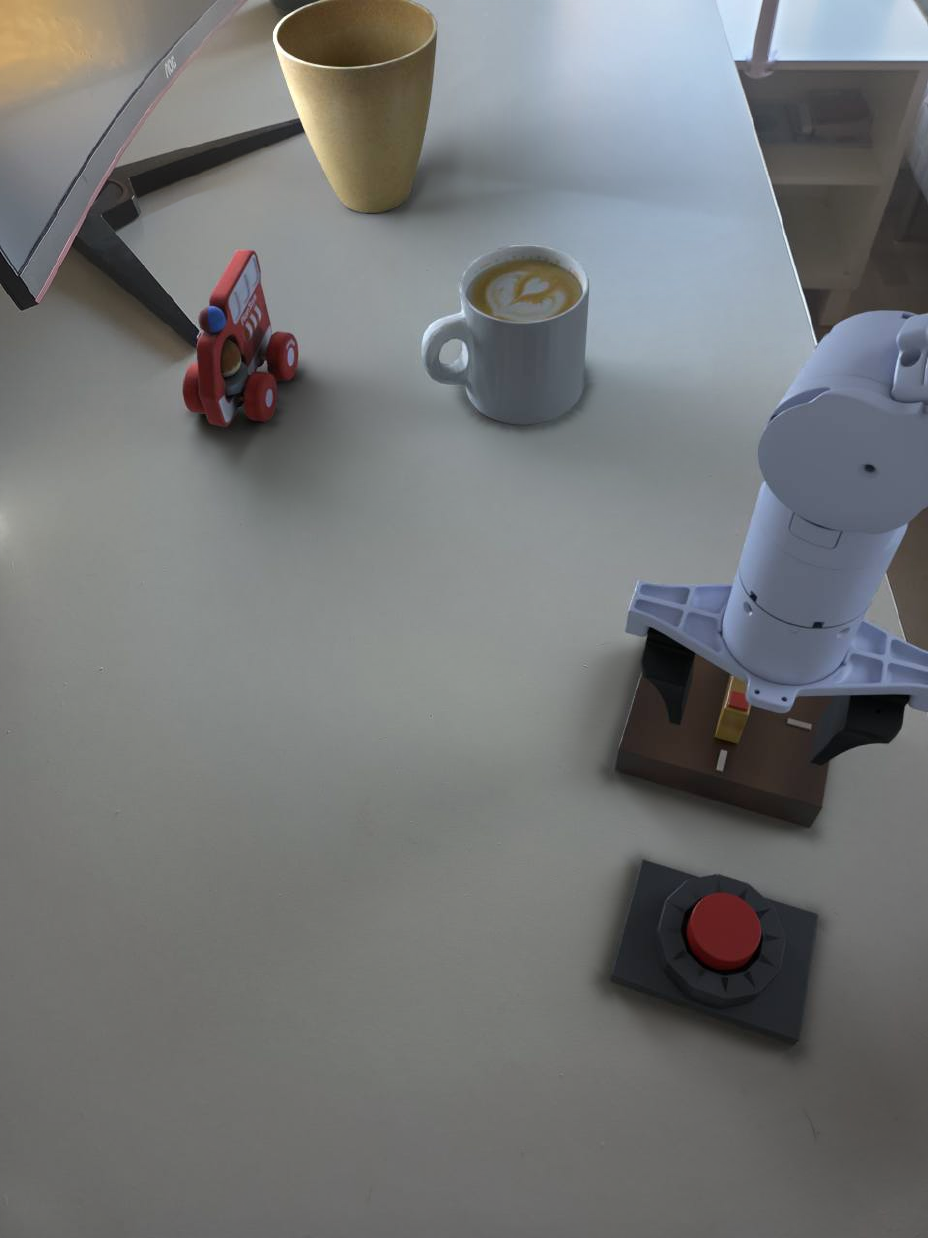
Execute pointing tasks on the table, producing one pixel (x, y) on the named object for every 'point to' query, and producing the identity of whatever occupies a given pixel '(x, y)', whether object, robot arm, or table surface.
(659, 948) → the dark grey button mount
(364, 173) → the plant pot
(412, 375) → the table surface
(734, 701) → the yellow rectangular block
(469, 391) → the coffee mug
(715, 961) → the bell button
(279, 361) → the toy fire truck
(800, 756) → the plate
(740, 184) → the table surface
